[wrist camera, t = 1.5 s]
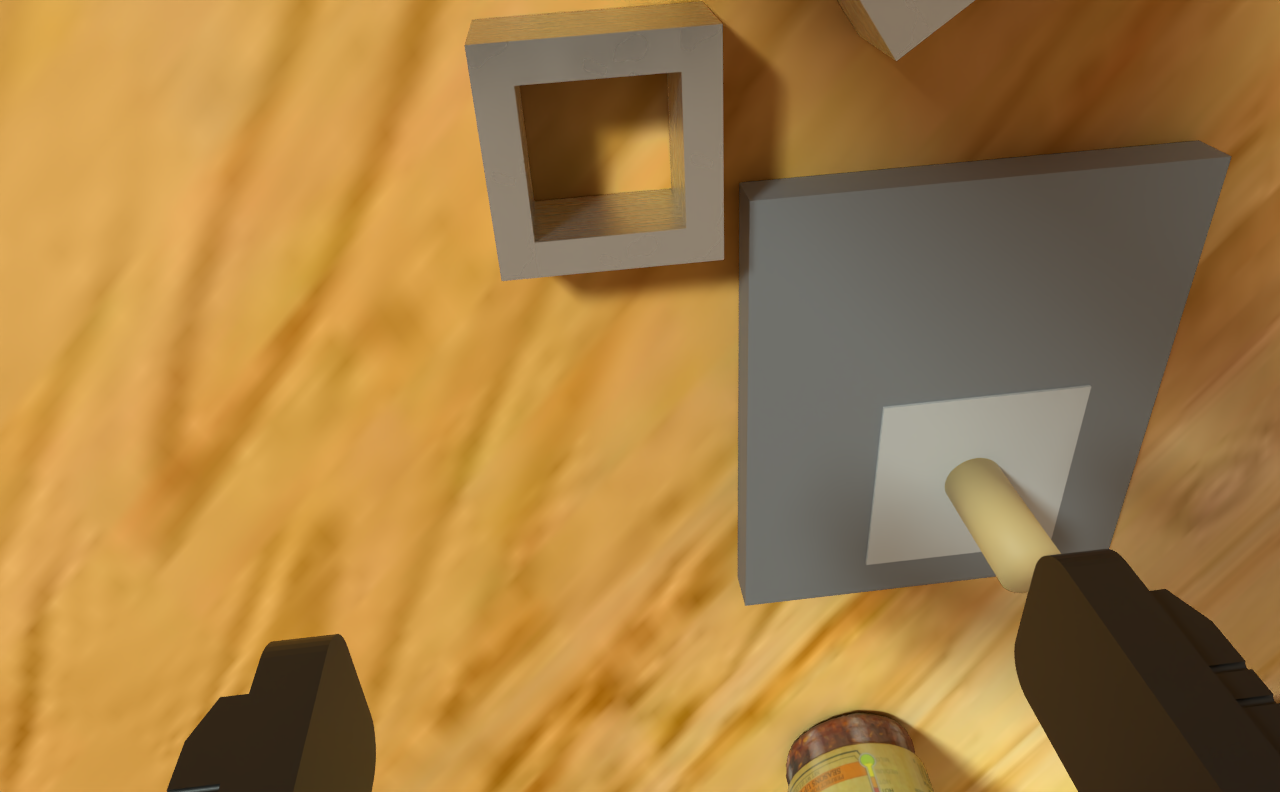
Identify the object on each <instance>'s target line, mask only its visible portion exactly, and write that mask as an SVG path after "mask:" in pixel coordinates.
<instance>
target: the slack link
mask: <svg viewBox="0 0 1280 792" xmlns="http://www.w3.org/2000/svg"><path fill="white" fill-rule="evenodd" d="M837 1H838V2H839V4H840V6H841V7H842V9H843V11H844V12H845V14H846V15H847V17H848V19H849V20H850V22H851V24H852V25H853V27H854V29H855V30H856V32H857V33H858V35H859V36H860V37H862V38H863V39H864V40H866V41H867V42H869V43H870V44H872V45H873V46H875V47H876V48H878V49H879V50H881V51H882V52H884V53H885V54H887V55H888V56H889V57H891V58H892V59H894V60H895V61H897V60H899V59H900V58H901V57H902V56H904V55H905V54H906V53H908V52H909V51H910V50H911V49H913V48H914V47H915V46H917V45H918V44H919V43H920V42H922V41H923V40H924V39H926V38H927V37H928V36H930V35H931V34H932V33H933V32H935V31H936V30H937V29H939V28H940V27H941V26H942V25H944V24H945V23H946V22H948V21H949V20H950V19H952V18H953V17H954V16H955V15H957V14H958V13H959V12H961V11H962V10H963V9H964V8H966V7H967V6H968V5H970V4H971V3H972V2H974V1H975V0H837Z"/></svg>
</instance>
